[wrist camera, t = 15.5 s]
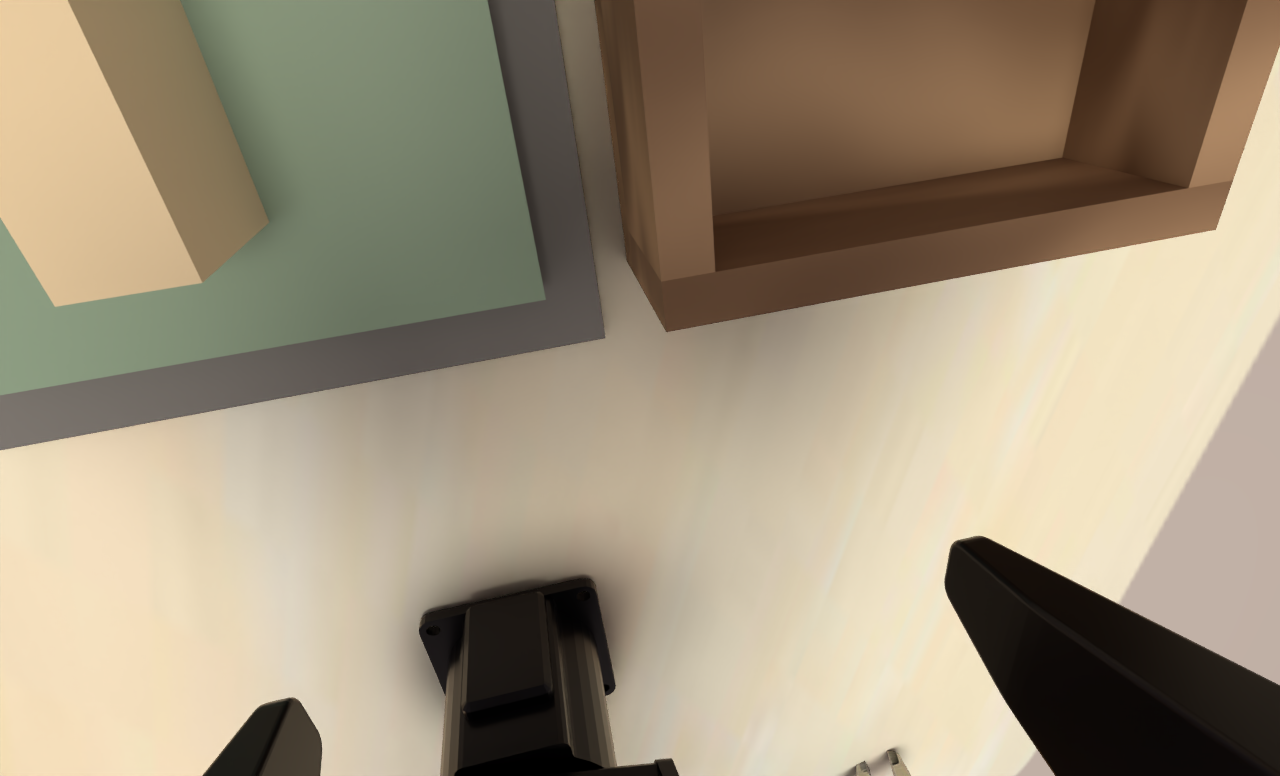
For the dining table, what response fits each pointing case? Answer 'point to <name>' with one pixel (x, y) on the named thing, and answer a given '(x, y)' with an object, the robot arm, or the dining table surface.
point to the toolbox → (914, 138)
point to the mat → (399, 350)
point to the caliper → (895, 760)
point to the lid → (247, 178)
